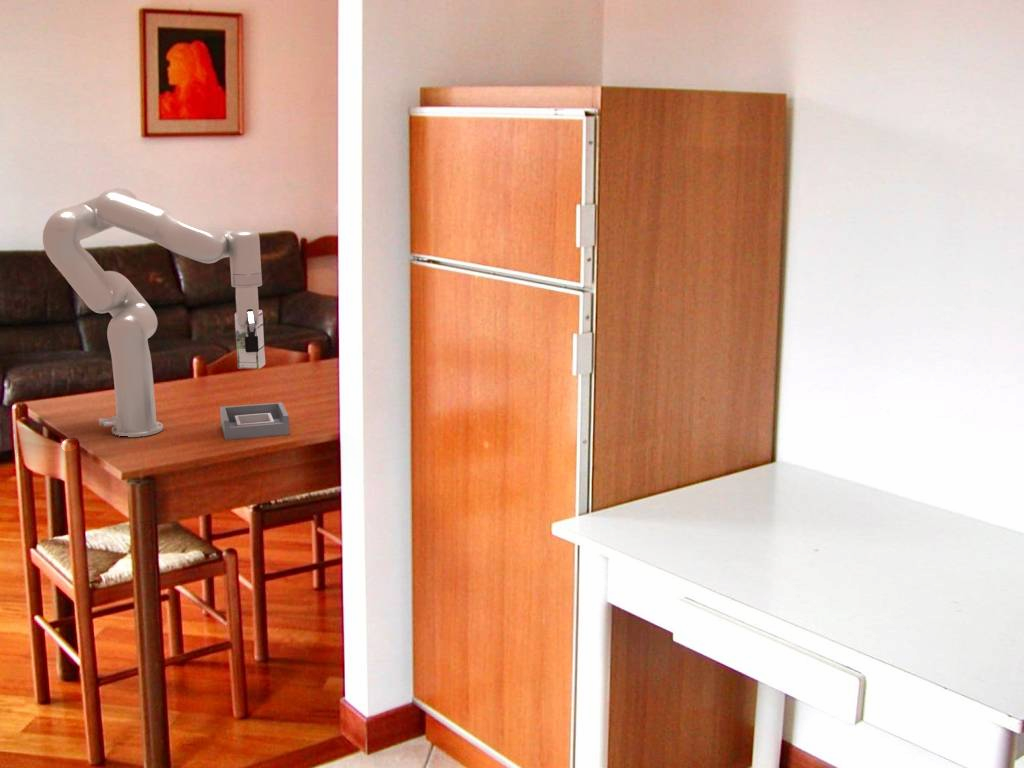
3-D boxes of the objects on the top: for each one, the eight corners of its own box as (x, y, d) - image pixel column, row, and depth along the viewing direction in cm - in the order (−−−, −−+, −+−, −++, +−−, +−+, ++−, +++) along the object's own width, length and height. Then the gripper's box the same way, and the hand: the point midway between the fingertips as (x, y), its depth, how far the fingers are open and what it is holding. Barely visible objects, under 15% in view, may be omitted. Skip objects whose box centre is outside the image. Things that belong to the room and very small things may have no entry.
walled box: (225, 439, 296) (224, 420, 295) (221, 425, 309) (220, 407, 308) (289, 434, 301) (288, 415, 300) (282, 420, 314) (282, 402, 313)
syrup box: (266, 364, 304) (263, 309, 300) (259, 369, 298) (255, 313, 295) (244, 364, 304) (241, 308, 301) (237, 369, 299) (233, 312, 295)
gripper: (228, 275, 303) (232, 342, 307) (233, 285, 287) (238, 356, 291) (258, 274, 305) (262, 341, 309) (265, 284, 289) (269, 354, 293)
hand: (250, 348), depth 300 cm, fingers closed on syrup box, 7 cm apart
